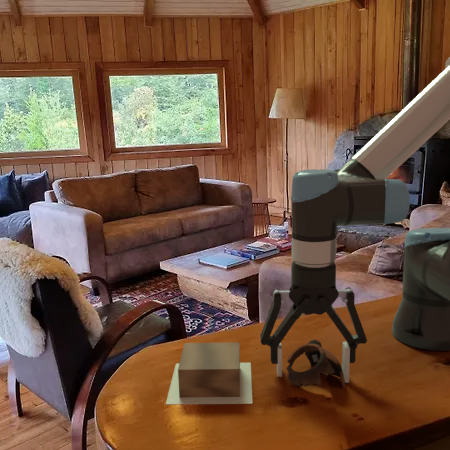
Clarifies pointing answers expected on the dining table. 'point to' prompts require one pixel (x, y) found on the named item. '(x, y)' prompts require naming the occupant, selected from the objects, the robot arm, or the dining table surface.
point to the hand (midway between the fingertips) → (312, 379)
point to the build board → (243, 399)
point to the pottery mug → (318, 359)
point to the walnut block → (209, 370)
